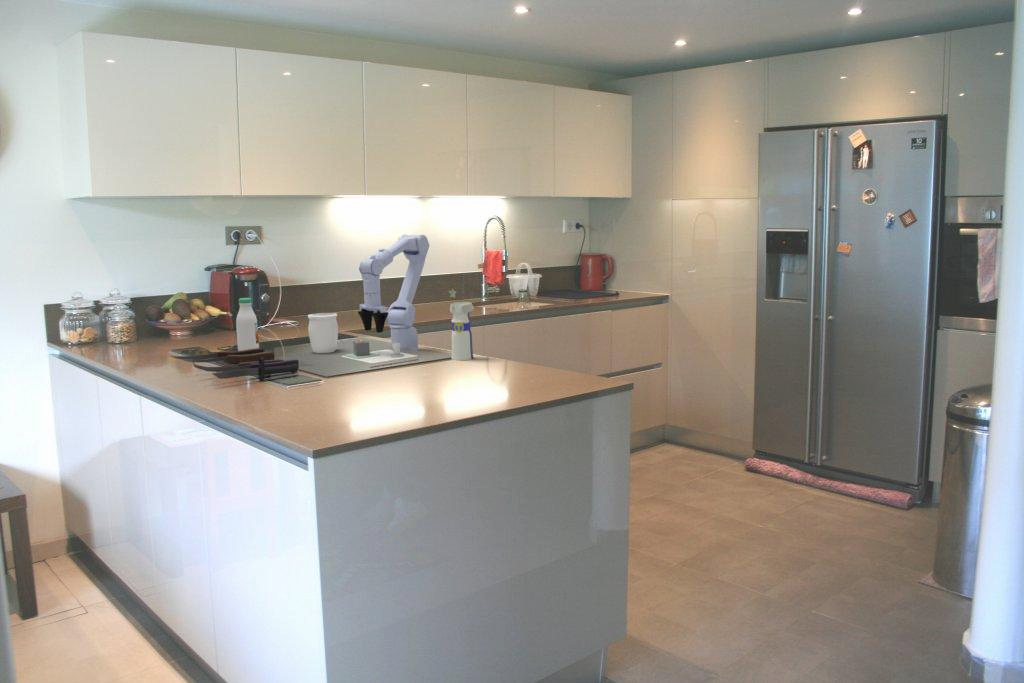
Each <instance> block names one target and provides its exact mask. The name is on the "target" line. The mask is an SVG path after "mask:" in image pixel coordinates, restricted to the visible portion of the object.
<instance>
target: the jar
mask: <svg viewBox="0 0 1024 683" xmlns="http://www.w3.org/2000/svg"><path fill="white" fill-rule="evenodd" d="M307 318H308V319H309V321H308V328H307V330H308V337H309V341H310V345H311V348H312V350H313V353H317V354H326V353H328V354H329V353H334V352H336V349H337V346H338V337H339V325H338V320H337V318H338V313H335V312H317V313H310V314H308V315H307Z"/></svg>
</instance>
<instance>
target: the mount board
mask: <svg viewBox="0 0 1024 683" xmlns="http://www.w3.org/2000/svg"><path fill="white" fill-rule="evenodd" d="M392 349H393V350H392ZM392 349H382V350H381V349H380V350H374V351H370V353H375V354H379V355H380V356H375V357H368V358H361V359H355V358H350V357H346V356H344V355H340V357H341V358H342V357H343V358H345V359H346V358H347V359H349V360H350V359H351V360H355V361H359V362H364V363H368V364H378V363H382V362H383V363H384V362H388V361H389V362H390V361H395V360H401V359H409V358H416V357H418V355H416V354H411V353H406V352H402V351H401V349H400V343H393V348H392ZM416 361H419V359H418V358H417V359H411V360H410V359H409V360H404V361H399V362H393V363H392V362H391V363H385V364H380V365H375V366H374V365H373V366H370V368H371V369H372V368H378V367H385V366H392V365H397V364H403V363H409V362H416Z"/></svg>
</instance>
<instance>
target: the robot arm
mask: <svg viewBox="0 0 1024 683" xmlns="http://www.w3.org/2000/svg"><path fill="white" fill-rule="evenodd" d="M429 248H430V242H429V240H428V237H427V236H426V235H425V234H410V235H409V234H403V235H401V236H400V237H398V239H397V241H396V242H394V243H393V244H392V245H391V246H389V248H380V249H378V251H377V252H375V254H372V255H370V257H369V258H364V259H363V260H362V261H361V262H360V264H359V267H358V271H359V273H360V274H361V279H362V282H363V302H364V303H360V304H359V311H357V313H358V315H359V317H360V319H361V321H362V324H363V327H364V328H363V329H364V331H368V332H369V331H372V325H373V324H372V322H373V320H374V324H375V331H376V333H379V334H380V333H383V332H384V328H385V324H387V325H388V327H389V328H390V343H391V349H393V343H400V350H405V349H408V350H412V351H420V348H419V337H418V336H419V335H418V330H417V329H416V327H415V326H413V325H414V323H415V321H416V320H415V318H416V311H417V310H416V308H415V306H414V305H413V301H414V297H415V295H416V292H417V288H418V285H419V282H420V279H421V276H422V272H423V268H424V267H425V263H426V258H427V255H428V251H429ZM401 253H403V255H404V256H405V259H406V260H408V262H409V263H408V267H407V270H406V272H405V275H404V278H403V281H402V285H401V287H400V288H401V289H400V290H399V294H398V298H397V300H395V301H394V302H393V303H391V304H390V306H389V309H388V308H387V306H384V305H382V303H381V302H382V300H381V299H382V298H381V278H380V275H382V273H383V271H384V269H385V268H387V266H388V265H390V264H391V263H393V261H394V258H395V257H396V256H399V255H400V254H401ZM387 309H388V310H387ZM385 322H386V323H385Z"/></svg>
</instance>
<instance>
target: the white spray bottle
mask: <svg viewBox="0 0 1024 683" xmlns="http://www.w3.org/2000/svg"><path fill="white" fill-rule="evenodd" d="M448 293H450V298H456V294H457V291H455V290H454V288H452V289H451V290H448ZM474 309H475V307H474V304H473V303H472V302H470V301H469V302H465V301H463V302H461V301H459V302H452V303H450V308H449V311H450V313H451V314H452V319H451V320H450V321H451V326H452V330H451V337H450V339H451V360H453V361H470V360H473V359H474V351H473V349H474V348H473V334H472V331H471V322H472V319H471V317H470V313H471V312H472V311H473V310H474Z"/></svg>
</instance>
